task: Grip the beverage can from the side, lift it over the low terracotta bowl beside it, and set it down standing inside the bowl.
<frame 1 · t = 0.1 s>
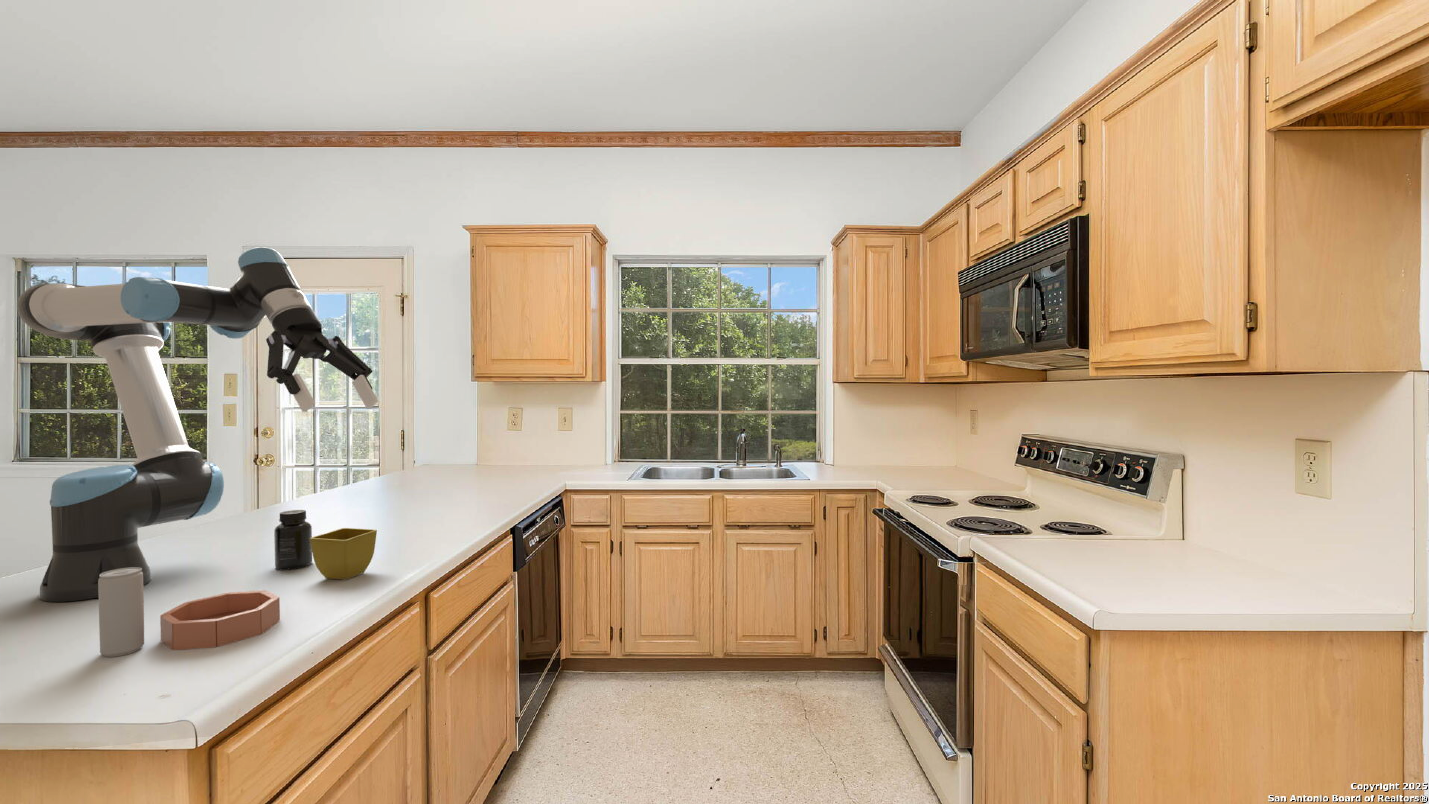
hand: (342, 406, 116), 36 cm above the worktop, tool tilted 35°, fingers open, 13 cm apart
flower pot: (344, 577, 127), on the worktop
supplement bottle: (293, 566, 134), on the worktop
terracotta bowl: (222, 630, 99), on the worktop
beverage can: (122, 652, 91), on the worktop
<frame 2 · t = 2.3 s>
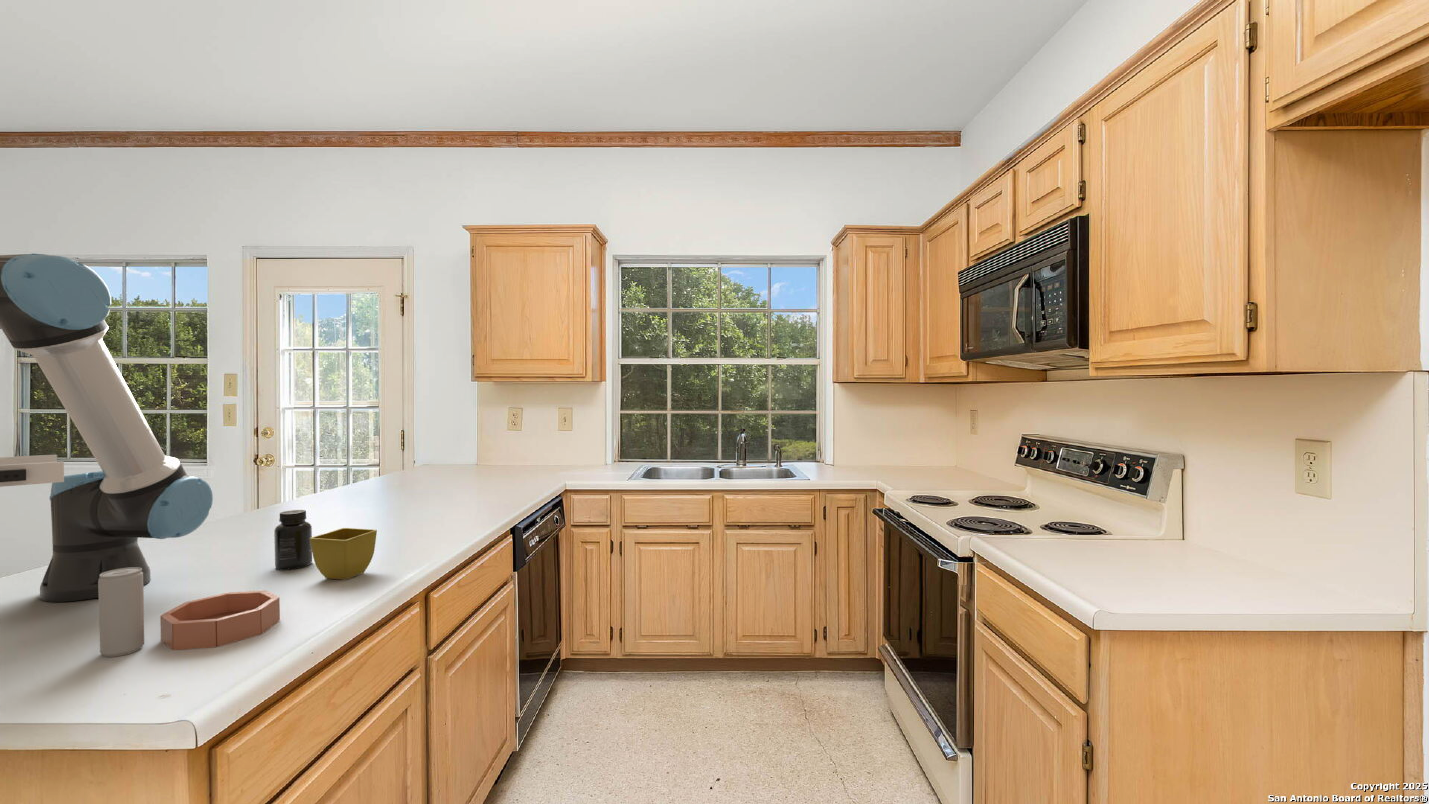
hand: (60, 467, 86), 28 cm above the worktop, tool horizontal, fingers open, 13 cm apart
nothing on the worktop moved.
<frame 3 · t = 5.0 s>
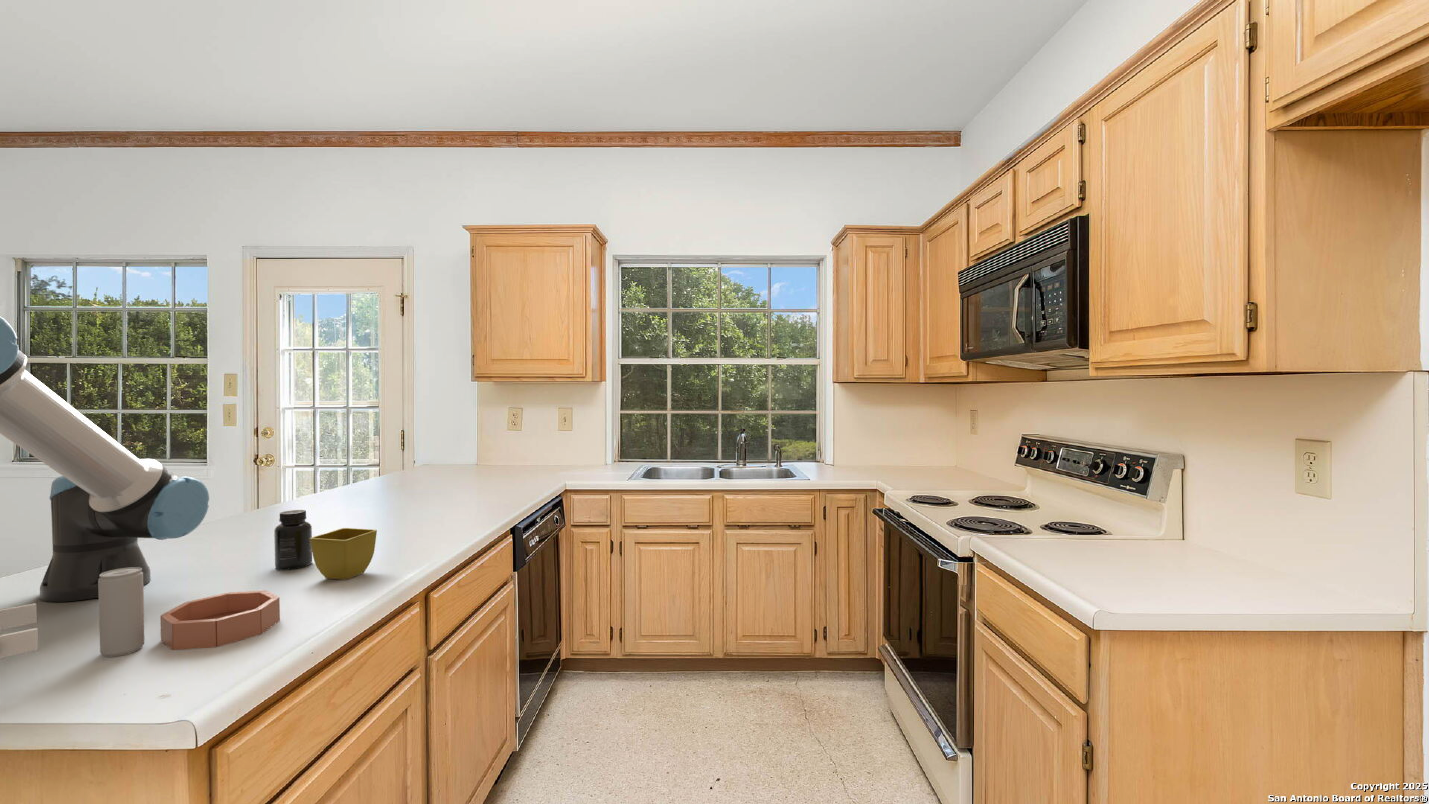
hand: (37, 624, 84), 7 cm above the worktop, tool horizontal, fingers open, 13 cm apart
nothing on the worktop moved.
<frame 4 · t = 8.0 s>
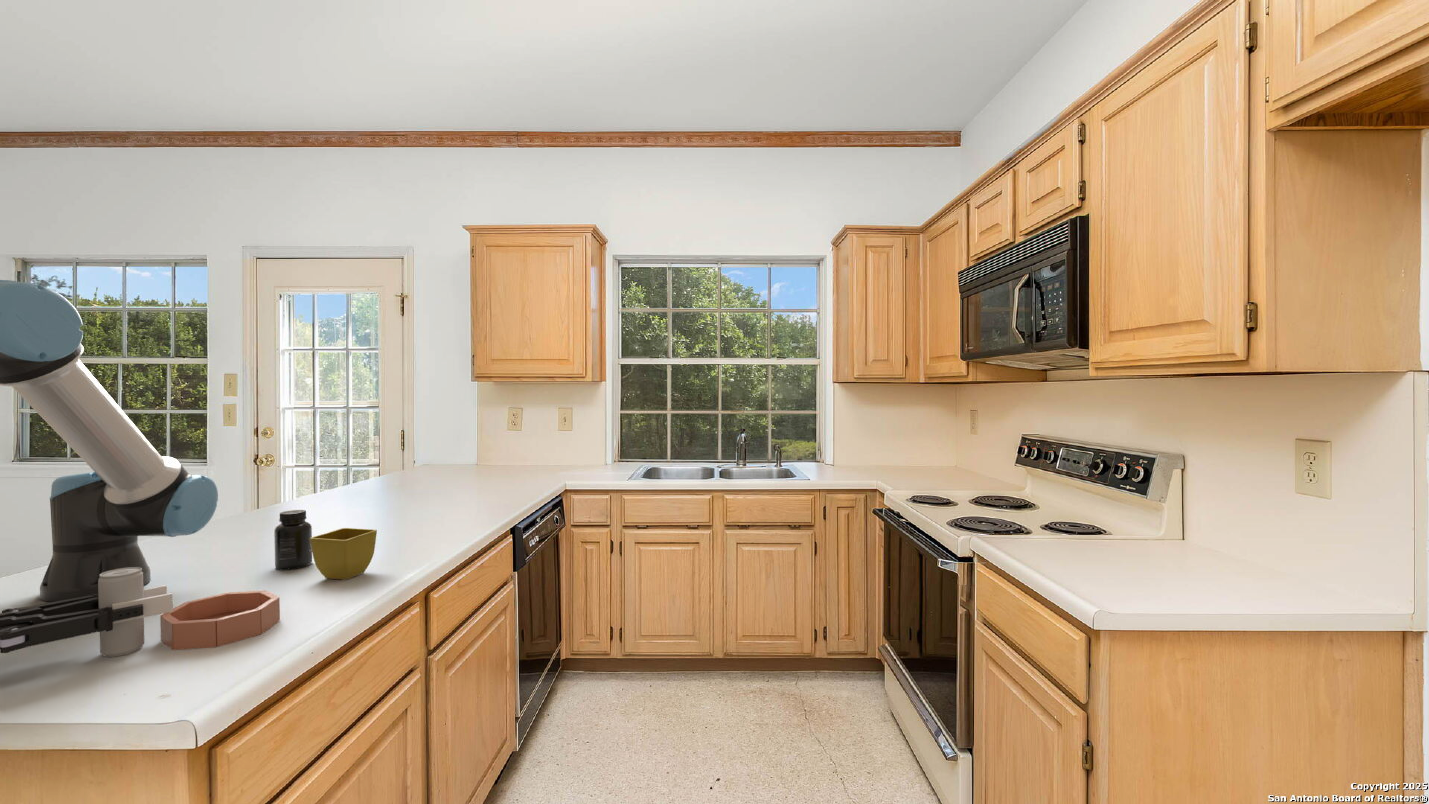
hand: (168, 597, 95), 7 cm above the worktop, tool horizontal, fingers closed on beverage can, 5 cm apart
beverage can: (122, 652, 91), on the worktop, touching gripper
everything else where it was.
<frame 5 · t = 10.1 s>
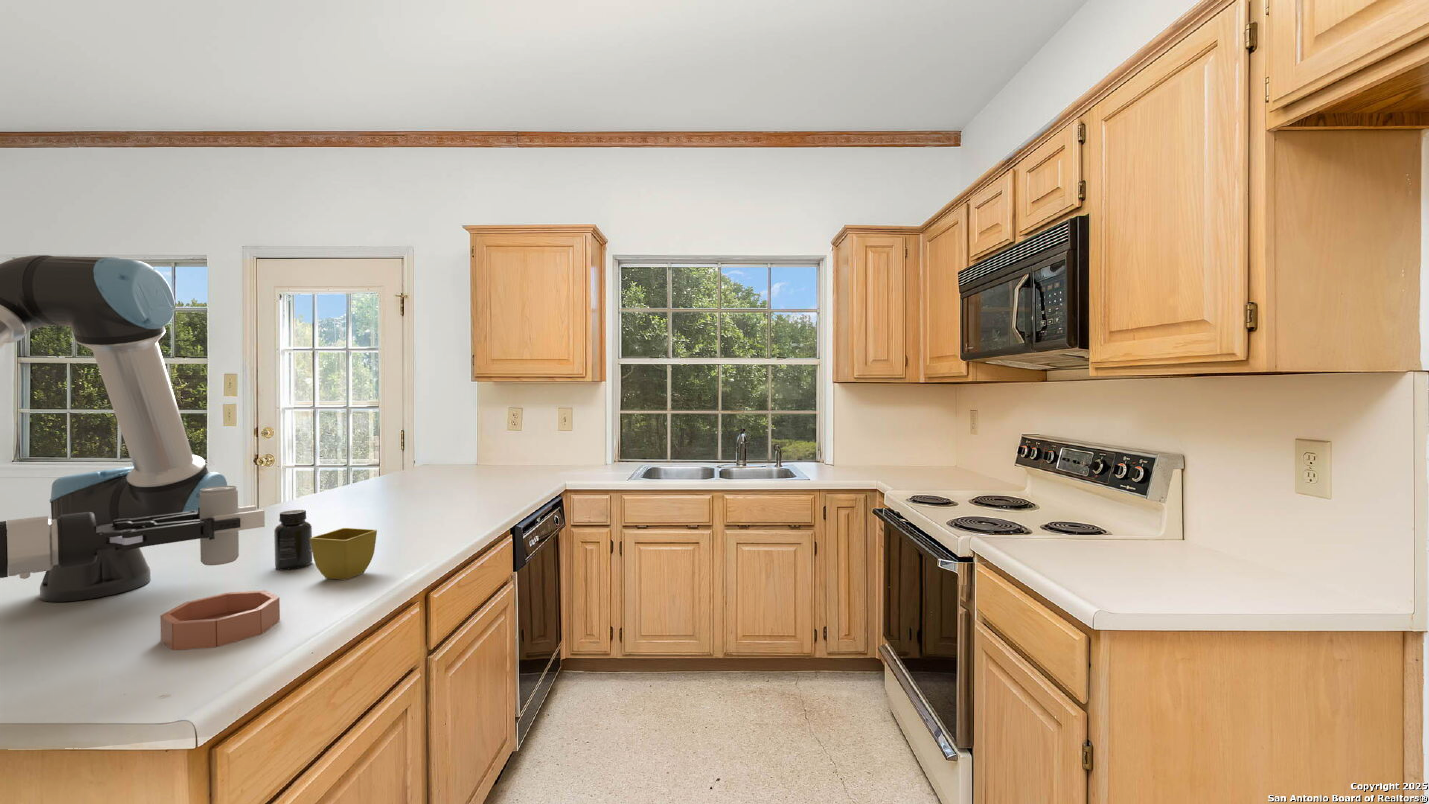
hand: (259, 515, 102), 18 cm above the worktop, tool horizontal, fingers closed on beverage can, 5 cm apart
beverage can: (220, 563, 98), point 11 cm above the worktop, touching gripper
everything else where it was.
when the fingers open (9 cm above the worktop, at t = 12.4 s): beverage can drops 1 cm, resting on terracotta bowl.
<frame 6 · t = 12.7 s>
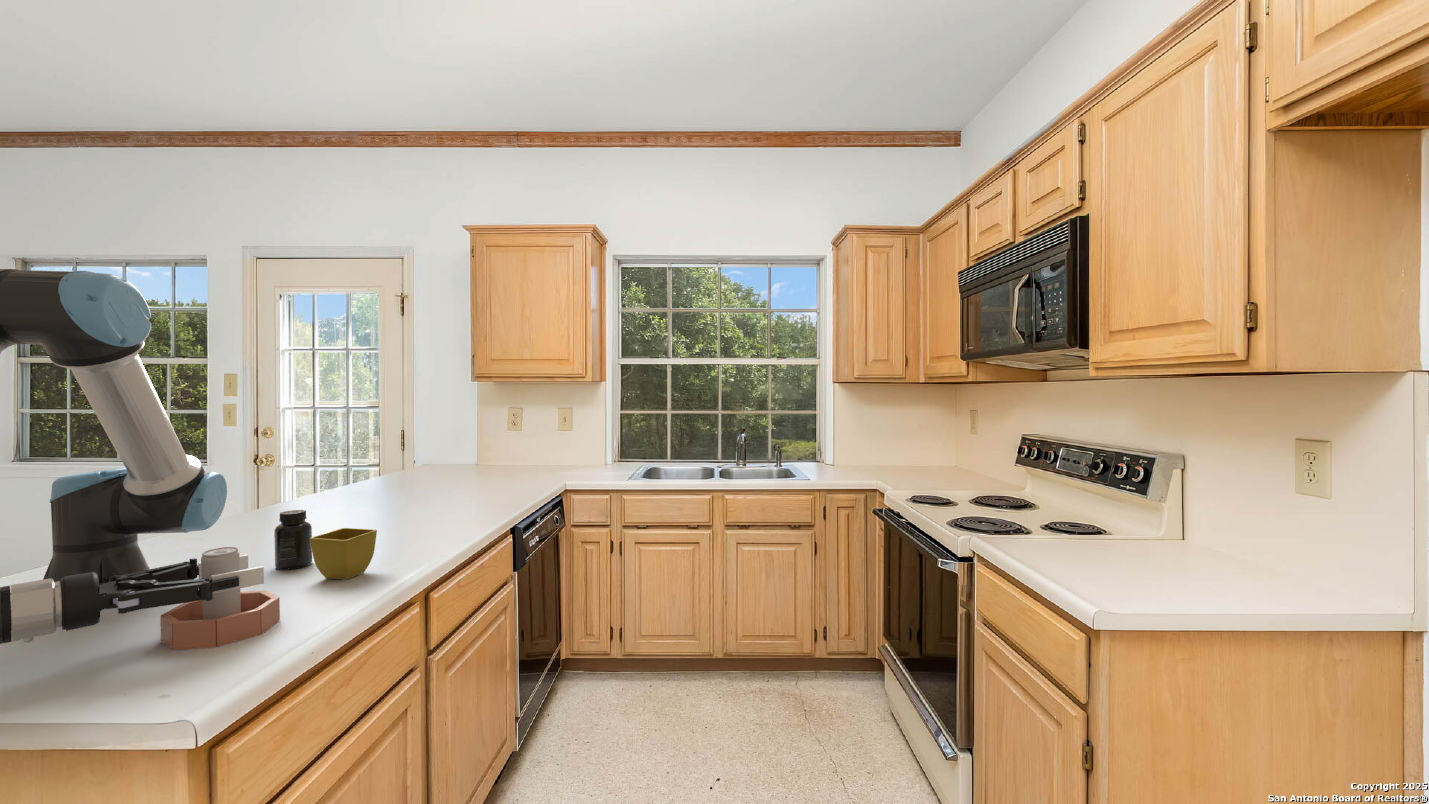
hand: (255, 568, 102), 9 cm above the worktop, tool horizontal, fingers open, 9 cm apart
beverage can: (222, 625, 99), point 1 cm above the worktop, touching terracotta bowl
everything else where it was.
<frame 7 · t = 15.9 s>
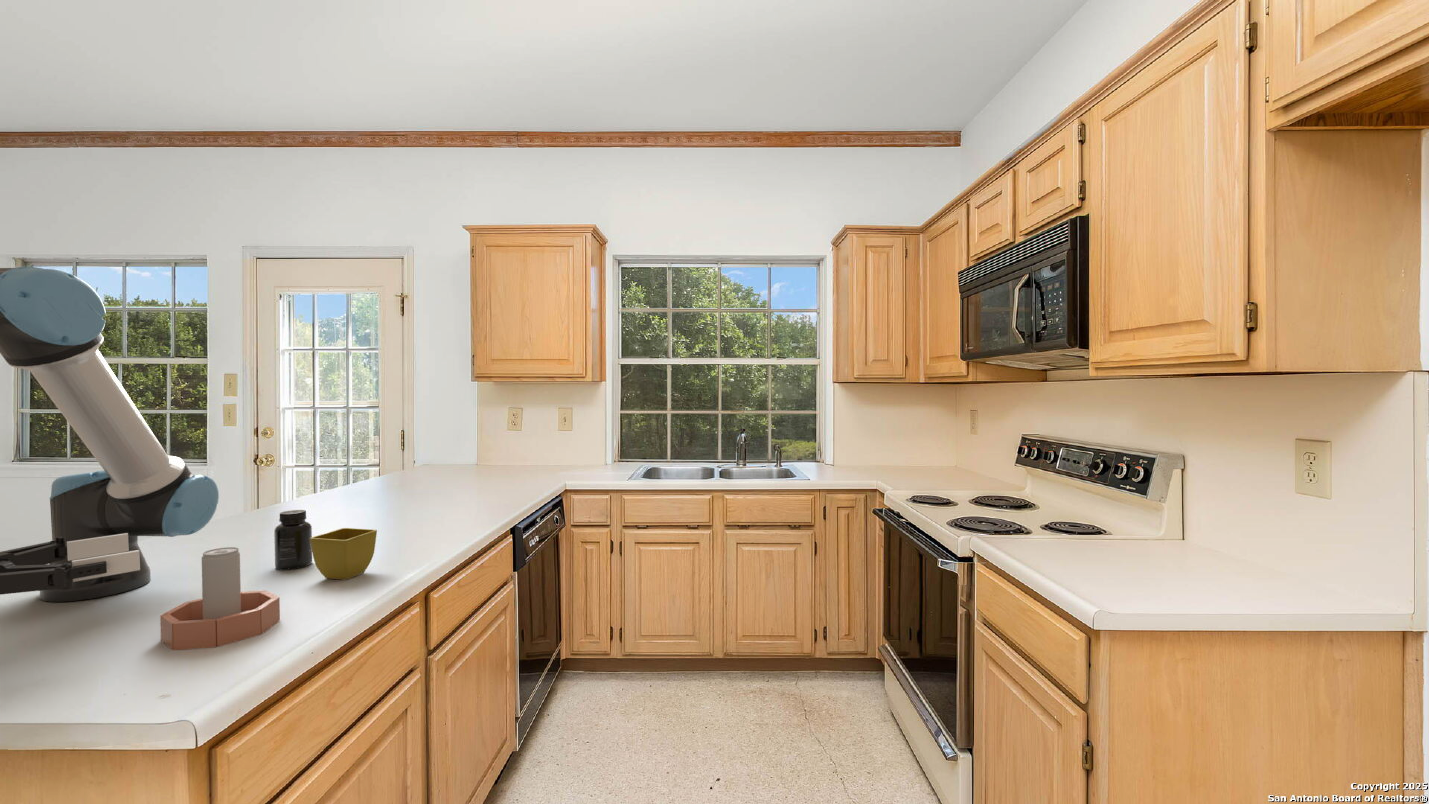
hand: (134, 550, 90), 15 cm above the worktop, tool horizontal, fingers open, 13 cm apart
nothing on the worktop moved.
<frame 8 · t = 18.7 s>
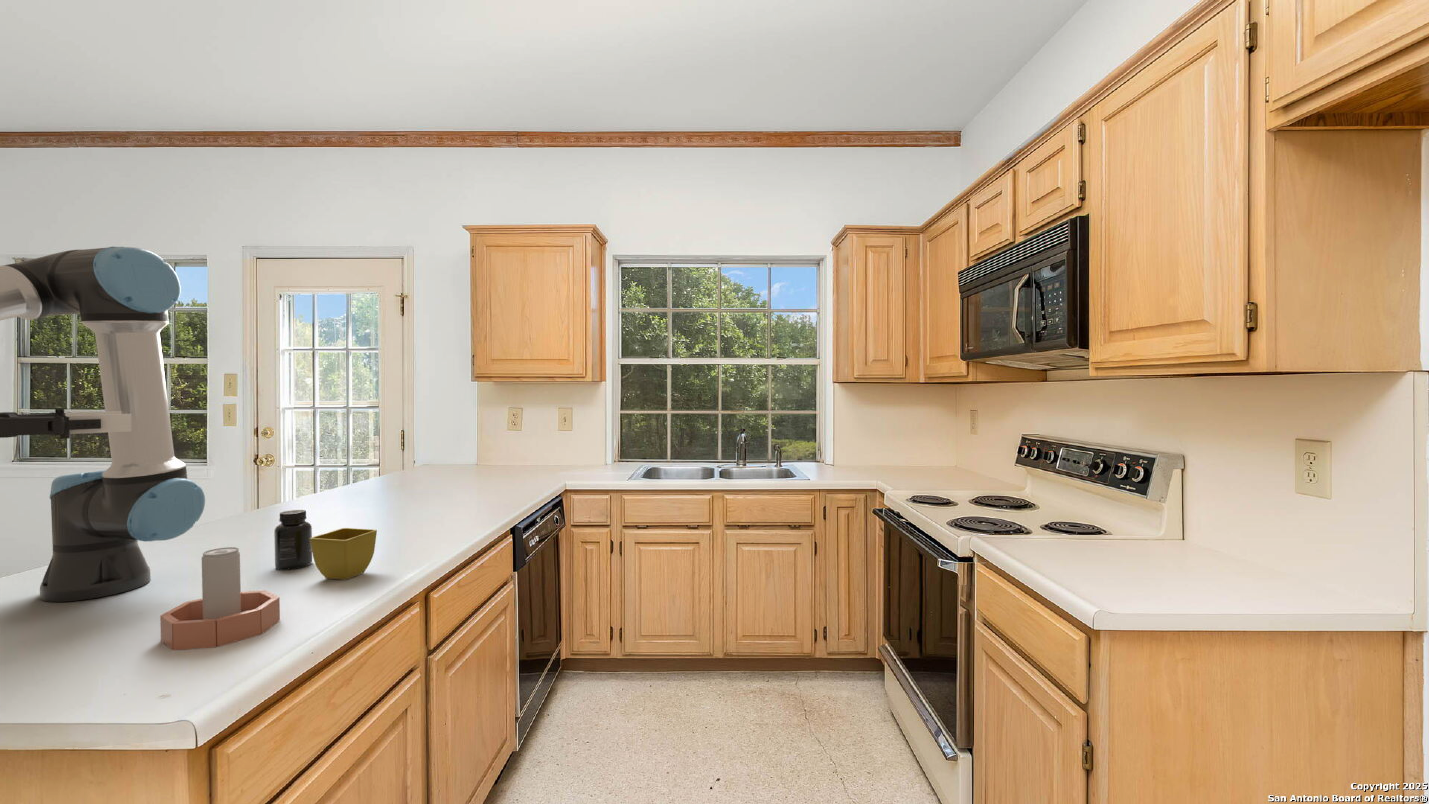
hand: (126, 420, 99), 34 cm above the worktop, tool horizontal, fingers open, 13 cm apart
nothing on the worktop moved.
at the end: beverage can inside the target area on the terracotta bowl (0.0 cm from its centre), point 0.8 cm above the terracotta bowl's base; beverage can tilted 0°; the gripper is holding nothing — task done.
